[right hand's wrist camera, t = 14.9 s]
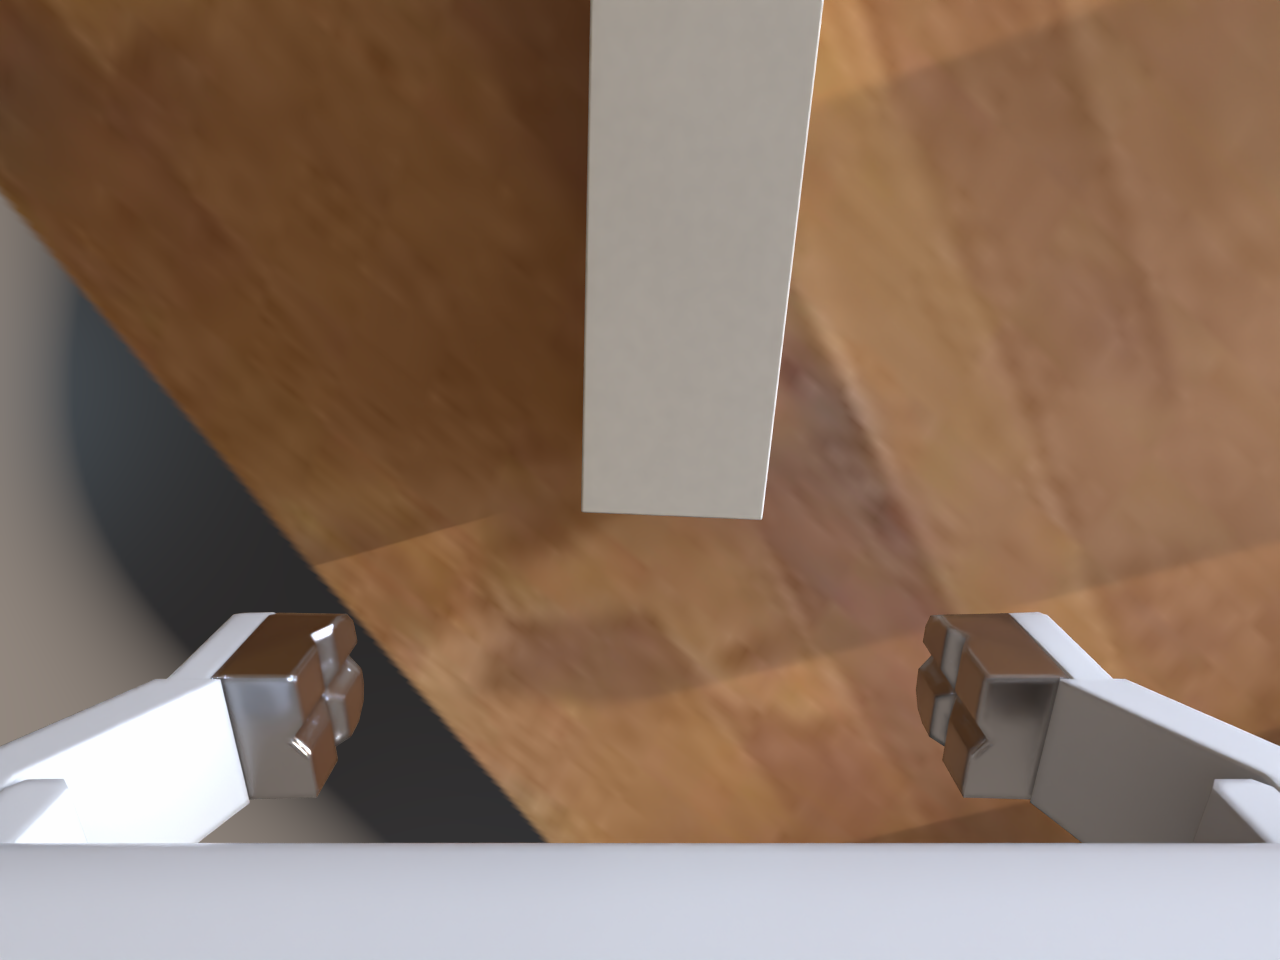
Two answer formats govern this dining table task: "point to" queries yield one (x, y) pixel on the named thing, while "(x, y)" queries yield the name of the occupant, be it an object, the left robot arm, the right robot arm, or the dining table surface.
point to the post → (690, 247)
